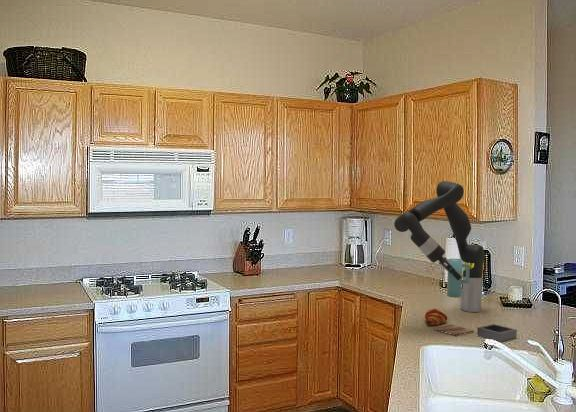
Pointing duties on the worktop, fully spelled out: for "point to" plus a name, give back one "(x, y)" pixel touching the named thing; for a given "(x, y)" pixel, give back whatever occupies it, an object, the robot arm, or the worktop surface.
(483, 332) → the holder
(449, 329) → the board
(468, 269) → the jug
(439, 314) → the croissant
